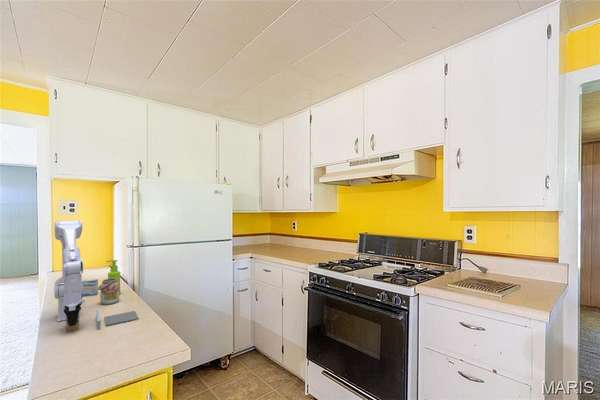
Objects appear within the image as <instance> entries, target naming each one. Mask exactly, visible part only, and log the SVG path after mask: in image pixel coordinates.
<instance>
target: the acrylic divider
mask: <svg viewBox="0 0 600 400" xmlns="http://www.w3.org/2000/svg"><path fill="white" fill-rule="evenodd" d="M95 322H96V330H97V331H99V330H101V316H100V310H99V309H97V310H96V311H95Z"/></svg>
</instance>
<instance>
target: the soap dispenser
mask: <svg viewBox="0 0 600 400" xmlns="http://www.w3.org/2000/svg"><path fill="white" fill-rule="evenodd" d="M105 262H106V263H112V265H111V266H110V271H109V272H108V273H107V279H111V278H116V279H117V282H118V283H119V296H120V295H121V271H120V270H119V271H118V269H119V268H118V264H117V262H118V260H117V259H110V260H107V261H105Z"/></svg>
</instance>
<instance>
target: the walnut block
mask: <svg viewBox="0 0 600 400" xmlns="http://www.w3.org/2000/svg"><path fill="white" fill-rule="evenodd" d="M65 324H66V325H65V331H66V333H68V332H72V331H77V330H80V316H79V314H78V318H77V323H76V325H74V326H69V324H68V320H67V316H66V320H65Z"/></svg>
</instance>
